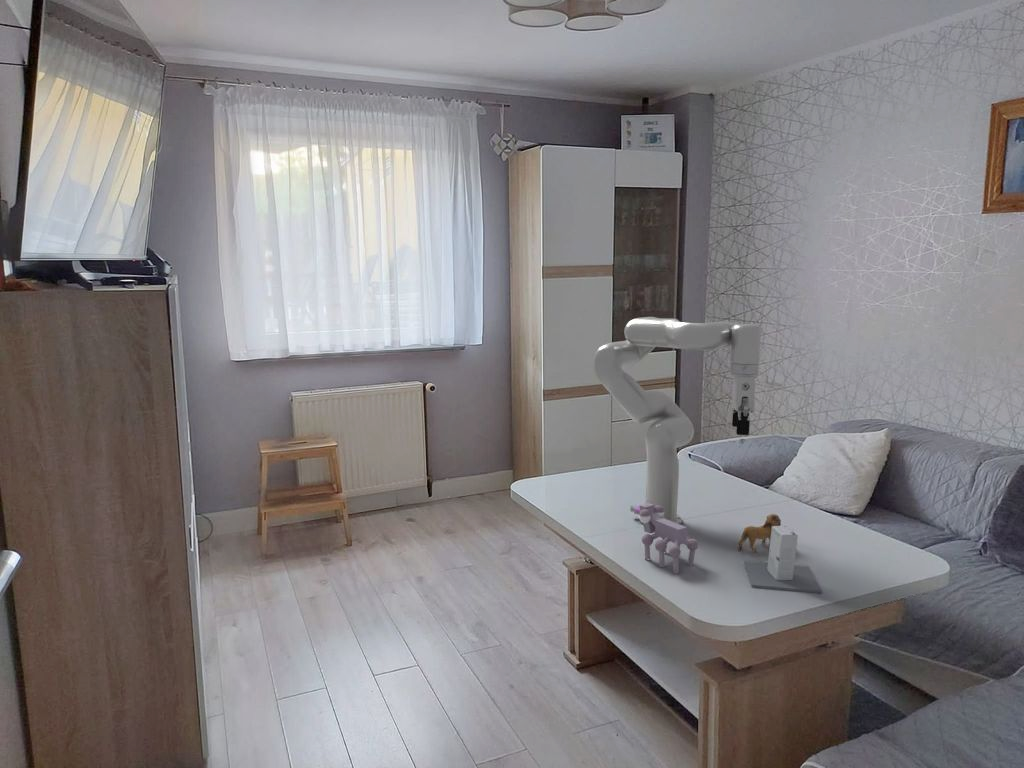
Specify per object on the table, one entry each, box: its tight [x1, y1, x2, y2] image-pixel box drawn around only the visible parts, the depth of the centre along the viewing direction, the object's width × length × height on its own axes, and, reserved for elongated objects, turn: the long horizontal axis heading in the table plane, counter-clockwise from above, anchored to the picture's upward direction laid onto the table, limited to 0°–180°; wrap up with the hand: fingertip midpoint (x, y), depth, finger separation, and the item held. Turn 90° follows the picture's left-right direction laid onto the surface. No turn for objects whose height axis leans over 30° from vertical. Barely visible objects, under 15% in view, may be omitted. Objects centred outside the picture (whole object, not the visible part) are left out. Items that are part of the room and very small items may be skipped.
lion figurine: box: [737, 513, 782, 553], centre depth 192 cm, size 15×5×9 cm, turn 119°
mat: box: [743, 560, 822, 594], centre depth 174 cm, size 16×14×1 cm
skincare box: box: [767, 525, 799, 580], centre depth 173 cm, size 6×4×12 cm
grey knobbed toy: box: [633, 503, 699, 574], centre depth 185 cm, size 20×11×14 cm, turn 36°
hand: (740, 430), depth 192 cm, fingers open, 9 cm apart
